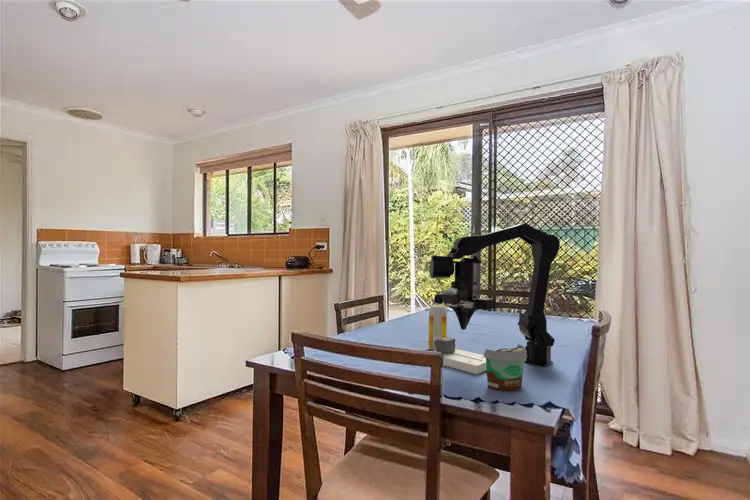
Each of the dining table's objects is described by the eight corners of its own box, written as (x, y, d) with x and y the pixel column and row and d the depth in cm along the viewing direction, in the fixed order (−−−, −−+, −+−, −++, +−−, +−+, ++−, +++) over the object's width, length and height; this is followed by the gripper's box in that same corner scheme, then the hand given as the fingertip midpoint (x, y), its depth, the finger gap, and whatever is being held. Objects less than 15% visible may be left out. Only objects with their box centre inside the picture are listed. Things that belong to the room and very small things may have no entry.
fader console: (496, 366, 121) (496, 358, 121) (476, 374, 113) (476, 365, 113) (447, 354, 134) (447, 346, 134) (426, 360, 126) (426, 352, 126)
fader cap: (455, 351, 128) (455, 338, 128) (445, 354, 124) (445, 341, 124) (445, 349, 130) (446, 336, 130) (436, 352, 127) (436, 339, 127)
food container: (501, 396, 96) (501, 355, 96) (483, 388, 102) (483, 349, 102) (537, 388, 102) (538, 349, 102) (518, 381, 108) (519, 343, 107)
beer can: (445, 347, 142) (446, 305, 142) (447, 352, 136) (447, 307, 136) (428, 347, 143) (428, 304, 143) (428, 351, 137) (429, 307, 137)
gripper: (423, 277, 124) (422, 328, 124) (476, 281, 110) (475, 339, 110) (445, 275, 131) (444, 323, 131) (497, 279, 118) (496, 333, 118)
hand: (463, 329), depth 123 cm, fingers closed
